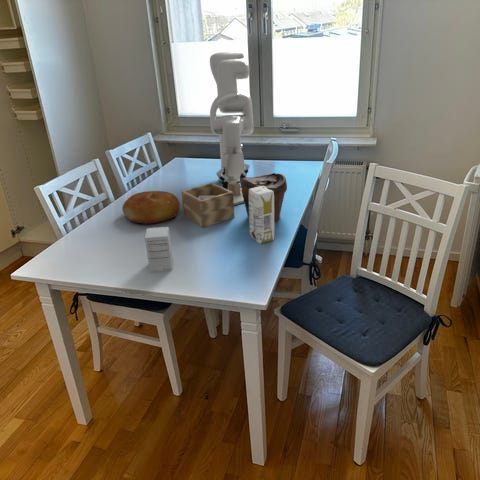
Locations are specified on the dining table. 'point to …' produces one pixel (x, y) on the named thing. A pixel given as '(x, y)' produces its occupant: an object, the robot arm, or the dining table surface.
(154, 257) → the supplement box
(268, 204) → the juice carton
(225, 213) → the crate
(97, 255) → the dining table surface
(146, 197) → the bread
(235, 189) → the lid
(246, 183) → the brown plant pot
